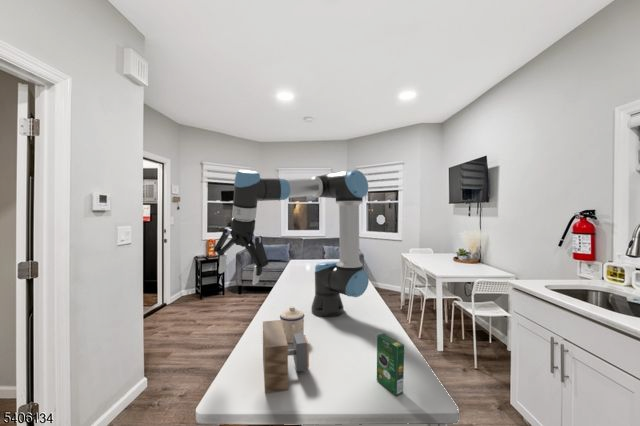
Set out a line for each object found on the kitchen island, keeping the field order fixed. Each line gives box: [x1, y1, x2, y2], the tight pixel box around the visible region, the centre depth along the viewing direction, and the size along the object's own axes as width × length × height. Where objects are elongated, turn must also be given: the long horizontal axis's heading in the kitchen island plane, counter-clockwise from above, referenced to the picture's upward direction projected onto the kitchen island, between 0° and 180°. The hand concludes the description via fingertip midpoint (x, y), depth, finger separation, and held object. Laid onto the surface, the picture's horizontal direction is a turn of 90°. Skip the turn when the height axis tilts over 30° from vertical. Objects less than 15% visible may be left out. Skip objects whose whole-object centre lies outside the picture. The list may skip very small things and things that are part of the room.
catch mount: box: [262, 319, 289, 394], centre depth 84 cm, size 6×18×12 cm, turn 13°
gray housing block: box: [288, 333, 310, 372], centre depth 86 cm, size 9×7×8 cm
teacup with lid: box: [279, 306, 305, 344], centre depth 106 cm, size 12×9×12 cm
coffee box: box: [376, 332, 405, 397], centre depth 77 cm, size 8×3×13 cm, turn 29°
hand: (238, 277), depth 99 cm, fingers open, 13 cm apart
